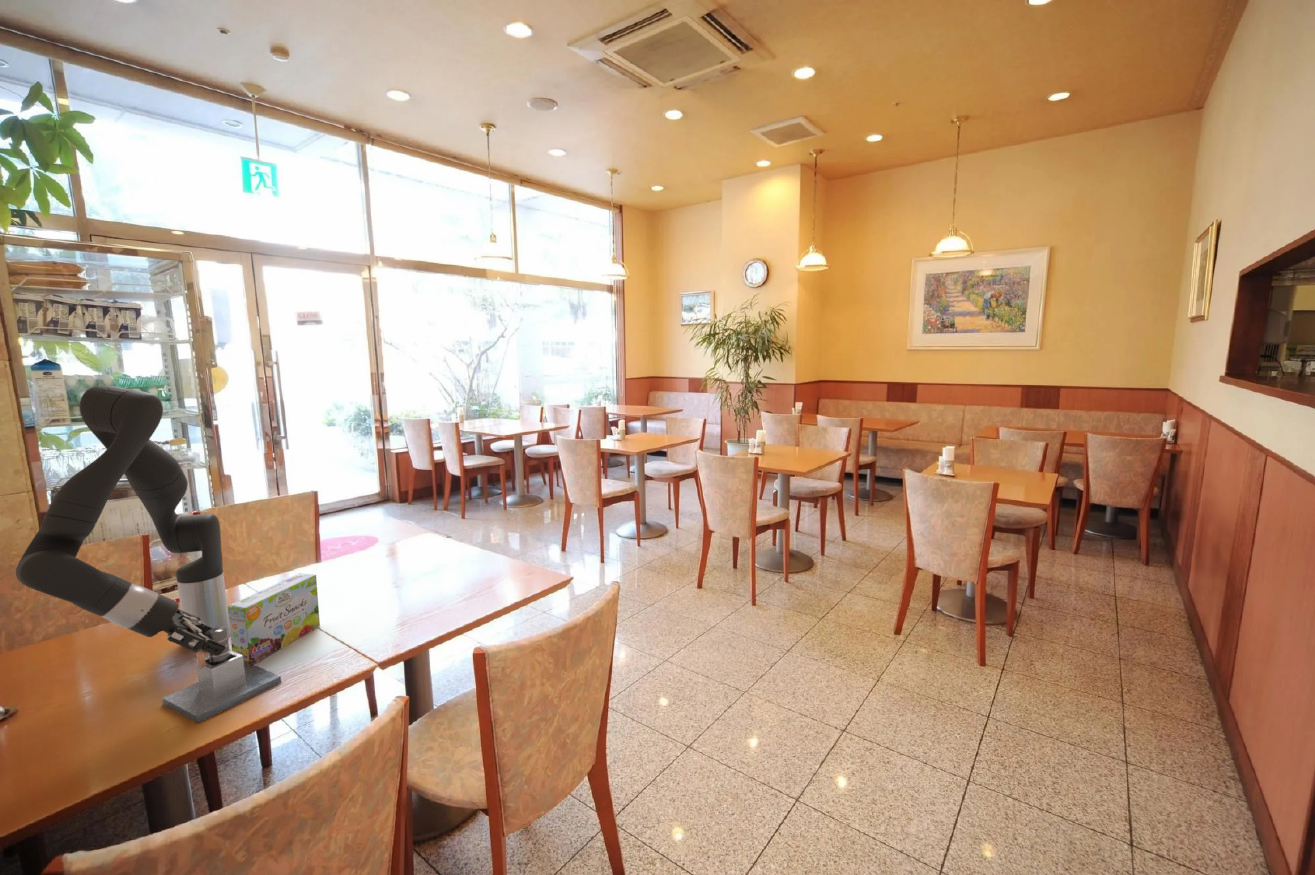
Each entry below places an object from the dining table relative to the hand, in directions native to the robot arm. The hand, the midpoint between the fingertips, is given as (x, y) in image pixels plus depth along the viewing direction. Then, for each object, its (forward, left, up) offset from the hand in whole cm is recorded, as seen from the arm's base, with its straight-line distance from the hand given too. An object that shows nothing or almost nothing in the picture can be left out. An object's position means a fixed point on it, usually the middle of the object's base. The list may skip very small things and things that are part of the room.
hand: (219, 643), depth 122 cm
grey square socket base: (0, 0, -11) cm, 11 cm away
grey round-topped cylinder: (0, 0, -9) cm, 9 cm away
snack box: (-11, +18, -12) cm, 24 cm away
